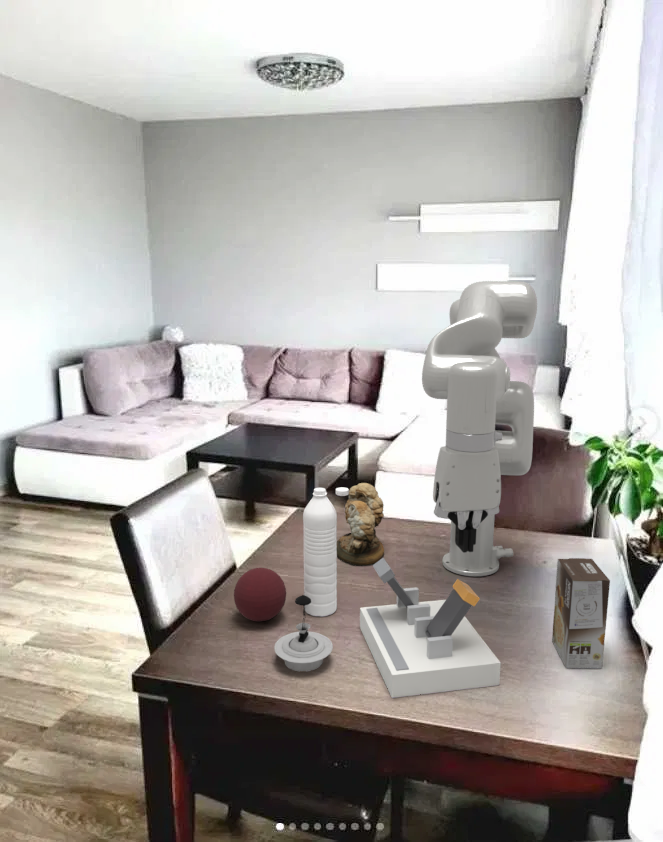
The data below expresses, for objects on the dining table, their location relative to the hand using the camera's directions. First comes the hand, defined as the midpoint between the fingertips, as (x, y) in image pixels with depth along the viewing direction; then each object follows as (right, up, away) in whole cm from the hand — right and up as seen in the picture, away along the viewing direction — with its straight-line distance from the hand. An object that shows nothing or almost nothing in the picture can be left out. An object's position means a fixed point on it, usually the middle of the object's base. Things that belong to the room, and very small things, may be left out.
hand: (465, 548), depth 110 cm
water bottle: (-23, -17, +23) cm, 36 cm away
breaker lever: (-5, -16, +2) cm, 17 cm away
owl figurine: (-15, -10, +51) cm, 55 cm away
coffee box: (+21, -20, +7) cm, 30 cm away
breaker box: (-6, -20, +7) cm, 22 cm away
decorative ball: (-36, -17, +20) cm, 44 cm away
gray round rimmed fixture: (-27, -20, +5) cm, 34 cm away
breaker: (-7, -13, +13) cm, 20 cm away
